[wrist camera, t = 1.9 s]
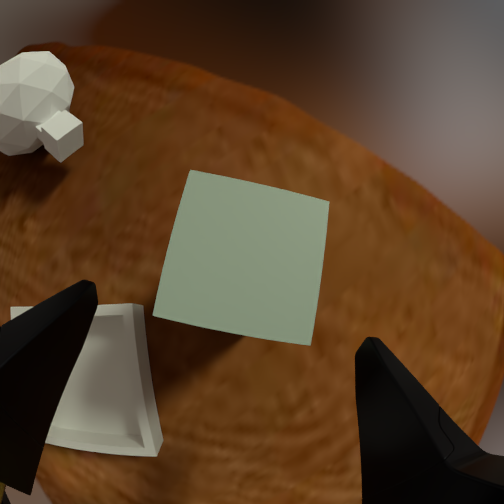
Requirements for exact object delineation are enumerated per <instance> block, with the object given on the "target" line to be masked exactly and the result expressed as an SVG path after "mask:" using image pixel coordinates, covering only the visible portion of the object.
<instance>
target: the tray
mask: <svg viewBox="0 0 504 504" xmlns="http://www.w3.org/2000/svg"><path fill="white" fill-rule="evenodd" d="M31 308H32V307H11V320H12V319H13V318H15V317H17V316H18V315H20V314H22V313H24V312H25V311H27V310H29V309H31ZM162 442H163V436H162V432H161V427H160V422H159V417H158V412H157V407H156V401H155V396H154V390H153V384H152V377H151V371H150V364H149V356H148V348H147V339H146V330H145V320H144V308H143V305H138V304H133V303H130V304H110V305H98V307H97V310H96V313H95V315H94V318H93V321H92V323H91V326H90V329H89V332H88V335H87V338H86V340H85V343H84V346H83V348H82V350H81V353H80V355H79V357H78V359H77V361H76V364H75V366H74V368H73V370H72V373H71V375H70V377H69V380H68V382H67V385H66V387H65V389H64V392H63V394H62V397H61V399H60V402H59V405H58V407H57V410H56V412H55V415H54V418H53V421H52V423H51V426H50V429H49V432H48V435H47V438H46V441H45V443H48V444H52V445H57V446H62V447H67V448H72V449H78V450H84V451H91V452H99V453H107V454H118V455H131V456H153V457H157V455H158V452H159V450H160V447H161V445H162Z"/></svg>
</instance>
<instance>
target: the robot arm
mask: <svg viewBox="0 0 504 504" xmlns="http://www.w3.org/2000/svg"><path fill="white" fill-rule="evenodd" d="M97 307H98V297H97V291H96V285H95V283H94V282H91V281H88V280H81V281H79V282H77V283H76V284H74V285H72V286H70V287H68V288H66V289H64V290H63V291H61V292H59V293H57V294H55V295H54V296H52V297H50V298H48V299H46V300H45V301H43V302H41V303H39V304H38V305H36V306H34V307H32V308H31V309H29V310H27V311H25V312H24V313H22V314H20V315H18V316H17V317H15V318H13V319H12V320H10V321H8V322H7V323H5V324H3V325H2V327H0V504H10V501H9V499H8V497H7V495H6V492H5V487H6V485H7V486H9V487H12V488H14V489H16V490H18V491H21V492H23V493H25V494H28V495H31V492H32V488H33V484H34V480H35V476H36V472H37V468H38V465H39V461H40V458H41V454H42V451H43V447H44V444H45V441H46V438H47V435H48V432H49V429H50V426H51V423H52V421H53V418H54V415H55V412H56V410H57V407H58V405H59V402H60V399H61V397H62V394H63V392H64V389H65V387H66V385H67V382H68V380H69V377H70V375H71V373H72V370H73V368H74V366H75V364H76V361H77V359H78V357H79V355H80V353H81V350H82V348H83V346H84V343H85V340H86V338H87V335H88V332H89V329H90V326H91V323H92V321H93V318H94V315H95V313H96V310H97ZM355 392H356V405H357V415H358V426H359V439H360V453H361V473H362V498H363V499H362V504H504V456H499V455H493V454H489V453H487V452H485V451H483V450H482V449H481V448H480V447H479V446H478V445H477V444H476V443H475V442H474V441H473V440H472V439H471V438H470V437H469V436H468V435H467V434H466V433H464V432H463V431H462V430H461V428H460V427H459V426H458V425H457V424H456V423H455V422H454V421H453V420H452V419H451V418H450V417H449V416H448V415H447V413H446V412H445V411H444V410H443V409H442V408H441V407H440V406H439V404H438V403H437V402H436V401H435V400H434V399H433V397H432V396H431V395H430V394H429V393H428V392H427V391H426V389H425V388H424V387H423V386H422V385H421V384H420V383H419V382H418V380H417V379H416V378H415V377H414V376H413V375H412V374H411V373H410V372H409V370H408V369H407V368H406V367H405V366H404V365H403V364H402V363H401V362H400V361H399V359H398V358H397V357H396V356H395V355H394V354H393V353H392V352H391V351H390V350H389V349H388V347H387V346H386V345H385V344H384V343H383V342H382V341H381V340H380V339H379V338H377V337H367V338H366V339H365V340H364V342H363V343H362V345H361V346H360V347H359V349H358V350H357V352H356V354H355Z"/></svg>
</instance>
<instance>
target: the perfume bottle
mask: <svg viewBox="0 0 504 504" xmlns="http://www.w3.org/2000/svg"><path fill="white" fill-rule="evenodd" d="M73 90H74V85H73V83H72V80H71V78H70V76H69V73H68V71H67V69H66V67H65V65H64V64H63V63H62V62H61V61H59V60H58V59H57V58H56V57H55V56H54V55H53V54H52V53H50V52H49V51H44V52H25V53H21V54H19V55H17V56H15V57H14V58H12V59H10V60H8V61H7V62H5V63H3V64H2V65H0V151H1V152H2V153H4V154H6V155H8V156H12V155H18V154H25V153H33V152H34V151H35V150H36V149H38V148H39V147H41V146H42V145H43V144H44V147H45V149H46V150H47V151H48V152H49V153H50V154H51V155H53V156H54V157H55V158H56V159H57V160H58V161H59V162H60V163H61V162H62V161H63V160H65V159H66V158H67V157H68V156H70V155H71V154H72V153H74V152H75V151H76V150H77V149H79V148H80V147H81V146H83V145H84V144H83V122H81V121H80V120H79V119H77V118H76V117H74V116H73V115H72V114H70V113H69V109H70V104H71V99H72V95H73Z"/></svg>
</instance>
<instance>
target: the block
mask: <svg viewBox="0 0 504 504" xmlns="http://www.w3.org/2000/svg"><path fill="white" fill-rule="evenodd" d="M328 210H329V201H325V200H321V199H318V198H314V197H310V196H306V195H302V194H298V193H294V192H290V191H286V190H282V189H278V188H274V187H270V186H265V185H261V184H257V183H252V182H248V181H243V180H239V179H234V178H229V177H224V176H219V175H214V174H209V173H204V172H199V171H193V170H190V172H189V176H188V179H187V182H186V185H185V189H184V192H183V195H182V199H181V202H180V205H179V209H178V212H177V216H176V220H175V223H174V227H173V231H172V234H171V238H170V242H169V246H168V250H167V254H166V258H165V262H164V266H163V270H162V274H161V279H160V283H159V288H158V292H157V297H156V301H155V306H154V311H153V316H156V317H160V318H164V319H168V320H173V321H177V322H181V323H186V324H190V325H195V326H199V327H204V328H209V329H213V330H218V331H224V332H229V333H234V334H239V335H245V336H251V337H256V338H262V339H268V340H275V341H281V342H288V343H295V344H302V345H311V340H312V334H313V328H314V322H315V315H316V309H317V302H318V296H319V289H320V281H321V274H322V266H323V258H324V249H325V240H326V231H327V221H328Z"/></svg>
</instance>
